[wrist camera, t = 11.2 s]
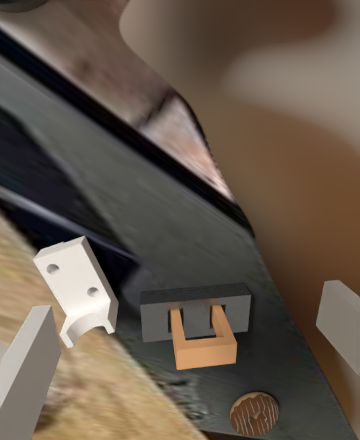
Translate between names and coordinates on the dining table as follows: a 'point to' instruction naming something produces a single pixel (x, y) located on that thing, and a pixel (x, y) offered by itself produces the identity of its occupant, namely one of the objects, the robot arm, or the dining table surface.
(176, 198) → the dining table surface
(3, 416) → the robot arm
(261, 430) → the donut
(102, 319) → the bracket
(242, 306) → the grey slotted block
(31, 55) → the dining table surface
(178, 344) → the clip
